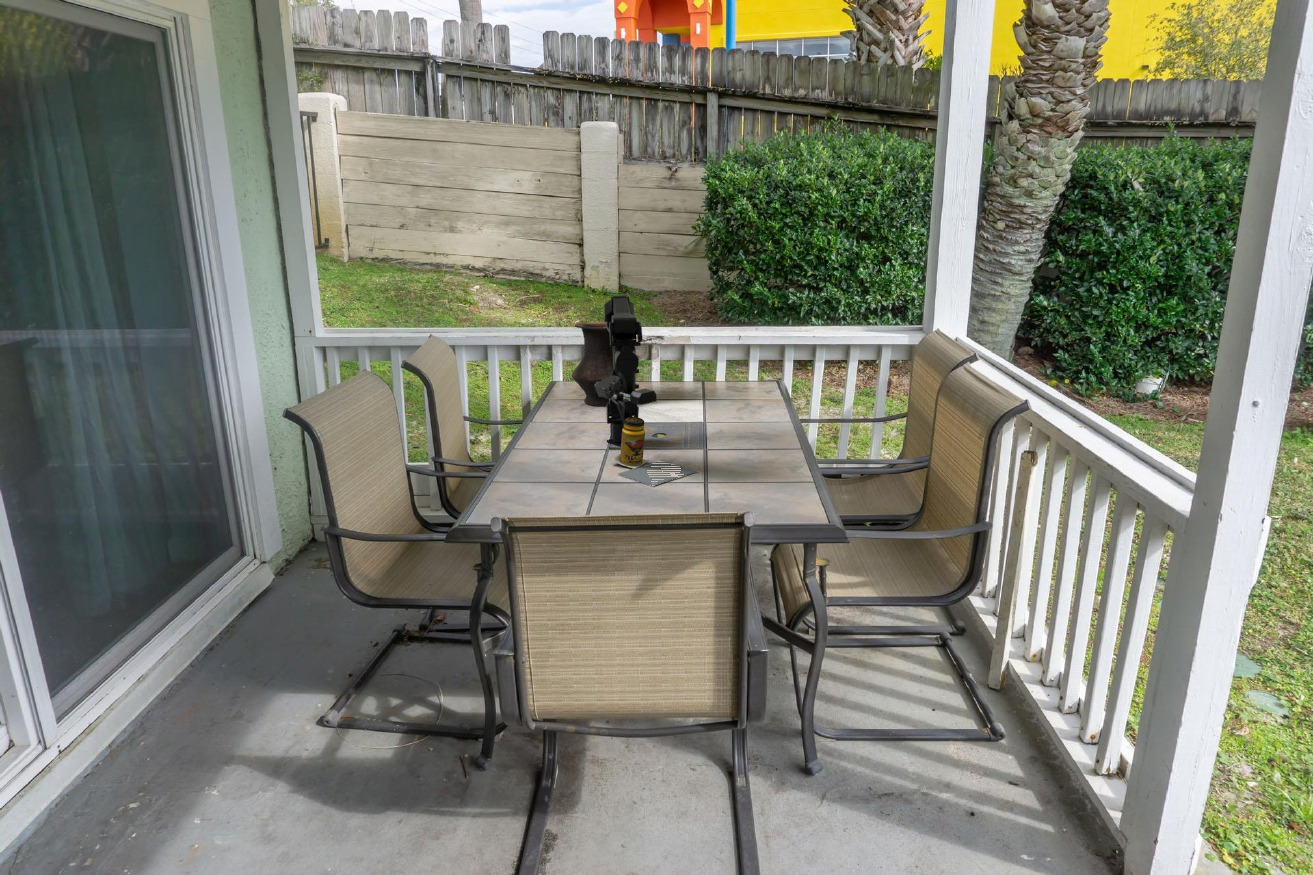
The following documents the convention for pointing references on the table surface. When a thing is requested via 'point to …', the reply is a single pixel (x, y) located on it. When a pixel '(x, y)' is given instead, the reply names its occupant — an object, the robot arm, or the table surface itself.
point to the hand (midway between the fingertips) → (624, 423)
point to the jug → (594, 360)
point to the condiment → (632, 443)
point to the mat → (643, 477)
